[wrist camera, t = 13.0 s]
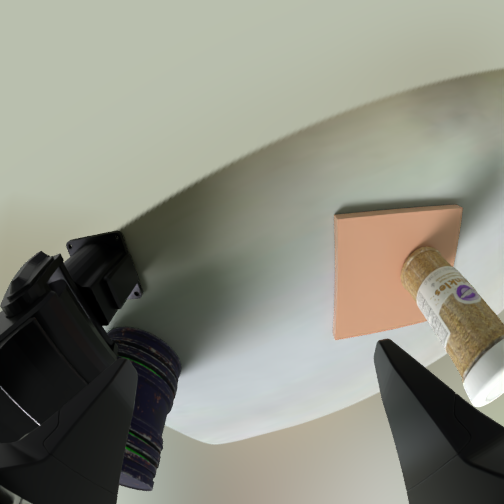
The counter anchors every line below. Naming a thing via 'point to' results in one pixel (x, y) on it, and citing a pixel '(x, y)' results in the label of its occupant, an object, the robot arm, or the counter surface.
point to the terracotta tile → (385, 264)
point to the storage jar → (146, 402)
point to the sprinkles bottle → (458, 322)
